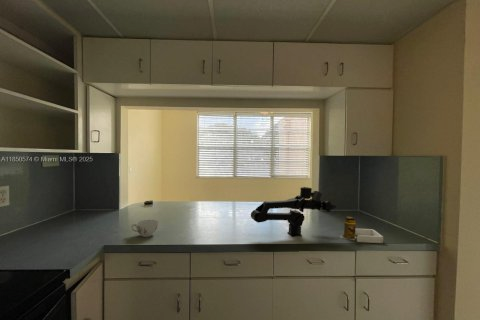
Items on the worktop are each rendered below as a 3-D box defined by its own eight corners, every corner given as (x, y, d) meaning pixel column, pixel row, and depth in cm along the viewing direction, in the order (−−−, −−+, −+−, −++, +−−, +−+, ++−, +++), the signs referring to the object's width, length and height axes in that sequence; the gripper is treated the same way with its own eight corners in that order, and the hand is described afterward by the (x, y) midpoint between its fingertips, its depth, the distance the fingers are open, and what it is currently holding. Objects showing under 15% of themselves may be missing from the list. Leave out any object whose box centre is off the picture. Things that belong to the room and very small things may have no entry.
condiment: (354, 240, 146) (355, 219, 145) (339, 237, 150) (339, 217, 150) (356, 237, 152) (357, 217, 151) (341, 234, 156) (342, 214, 156)
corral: (357, 241, 144) (357, 235, 144) (349, 233, 158) (350, 228, 158) (382, 243, 142) (383, 236, 142) (373, 235, 156) (373, 229, 156)
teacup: (160, 232, 156) (160, 219, 155) (155, 239, 143) (155, 225, 143) (135, 232, 155) (135, 219, 154) (127, 239, 142) (127, 225, 142)
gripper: (319, 192, 149) (341, 193, 153) (302, 190, 167) (322, 191, 171) (318, 211, 148) (340, 212, 152) (301, 207, 166) (321, 208, 170)
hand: (331, 205), depth 162 cm, fingers open, 9 cm apart
